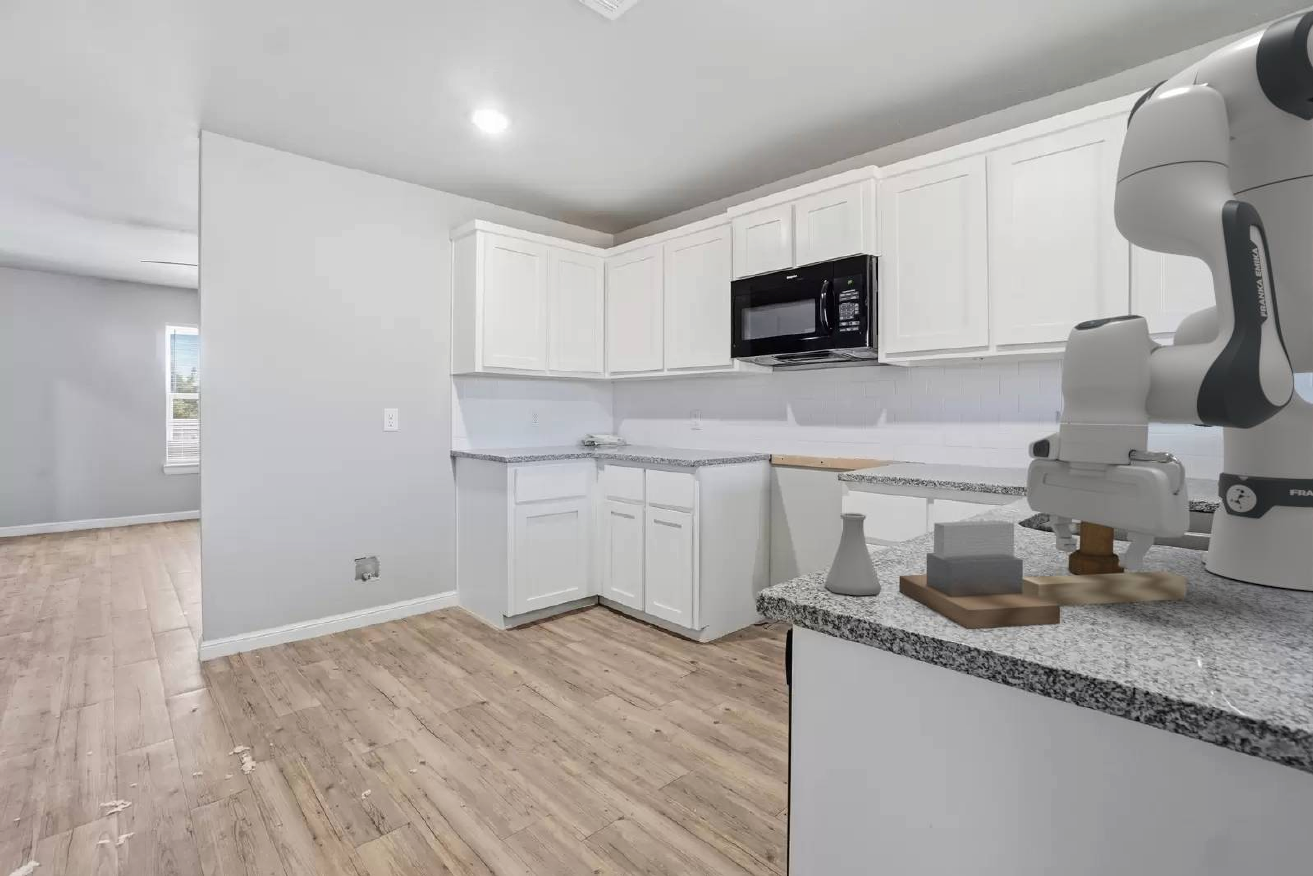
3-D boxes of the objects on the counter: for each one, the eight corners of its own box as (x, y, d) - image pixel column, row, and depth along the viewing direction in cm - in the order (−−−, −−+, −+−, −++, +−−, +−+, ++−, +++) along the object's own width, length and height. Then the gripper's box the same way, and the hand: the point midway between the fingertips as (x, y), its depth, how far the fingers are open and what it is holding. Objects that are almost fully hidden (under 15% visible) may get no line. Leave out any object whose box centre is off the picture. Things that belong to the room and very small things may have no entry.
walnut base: (976, 587, 81) (977, 572, 81) (1059, 623, 67) (1060, 605, 67) (899, 591, 80) (899, 575, 80) (968, 628, 66) (968, 610, 66)
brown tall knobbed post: (1124, 582, 83) (1127, 450, 82) (1066, 575, 87) (1069, 448, 86) (1123, 572, 88) (1127, 447, 88) (1069, 565, 92) (1072, 446, 91)
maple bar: (1162, 594, 79) (1163, 571, 79) (1185, 601, 76) (1186, 577, 76) (1020, 601, 76) (1020, 577, 76) (1038, 609, 73) (1038, 584, 73)
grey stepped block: (993, 581, 77) (994, 518, 76) (1022, 593, 72) (1023, 525, 71) (926, 585, 75) (927, 520, 75) (951, 597, 70) (952, 528, 70)
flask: (885, 599, 77) (886, 519, 76) (826, 595, 78) (826, 518, 78) (877, 583, 84) (877, 510, 83) (822, 580, 85) (822, 509, 85)
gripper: (1210, 454, 65) (1203, 582, 66) (1060, 444, 86) (1056, 542, 86) (1158, 453, 65) (1151, 583, 65) (1019, 443, 85) (1015, 542, 85)
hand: (1096, 559), depth 76 cm, fingers open, 8 cm apart
